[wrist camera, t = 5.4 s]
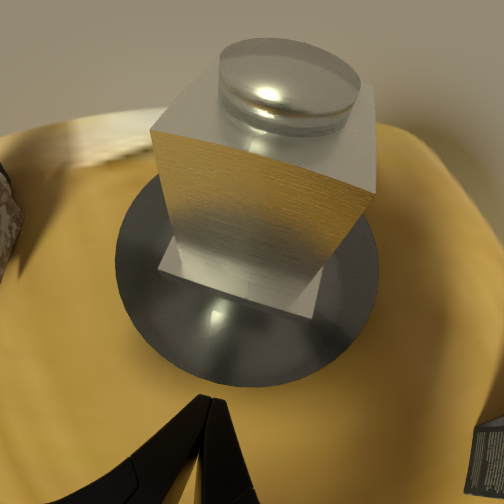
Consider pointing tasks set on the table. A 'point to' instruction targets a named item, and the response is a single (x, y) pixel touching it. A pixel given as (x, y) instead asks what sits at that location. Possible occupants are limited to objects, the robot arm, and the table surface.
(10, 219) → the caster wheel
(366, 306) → the turntable
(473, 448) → the small box
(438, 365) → the table surface
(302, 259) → the cover
